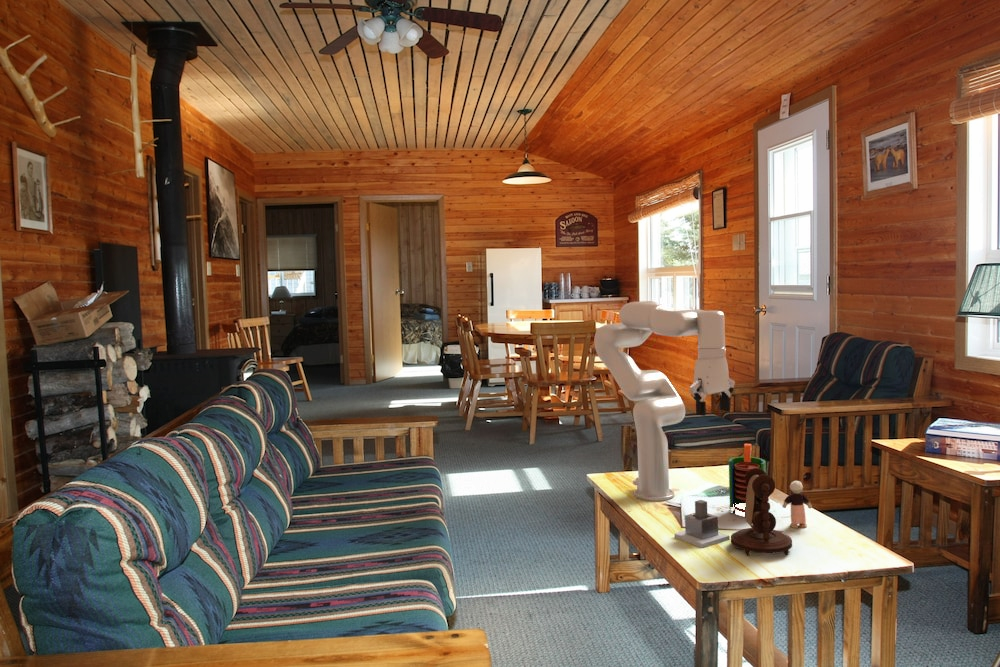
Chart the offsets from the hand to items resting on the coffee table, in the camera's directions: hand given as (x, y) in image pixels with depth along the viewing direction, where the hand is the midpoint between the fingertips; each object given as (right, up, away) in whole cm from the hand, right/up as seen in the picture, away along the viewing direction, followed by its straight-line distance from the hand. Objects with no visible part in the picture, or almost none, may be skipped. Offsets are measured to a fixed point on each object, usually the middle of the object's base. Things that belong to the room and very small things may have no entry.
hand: (713, 412), depth 216 cm
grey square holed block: (-8, -31, -16) cm, 36 cm away
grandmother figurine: (+20, -30, -10) cm, 38 cm away
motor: (+11, -30, +3) cm, 32 cm away
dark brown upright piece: (+5, -32, -25) cm, 41 cm away
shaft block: (-8, -32, -16) cm, 36 cm away
